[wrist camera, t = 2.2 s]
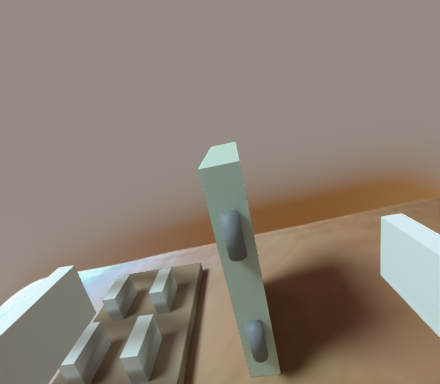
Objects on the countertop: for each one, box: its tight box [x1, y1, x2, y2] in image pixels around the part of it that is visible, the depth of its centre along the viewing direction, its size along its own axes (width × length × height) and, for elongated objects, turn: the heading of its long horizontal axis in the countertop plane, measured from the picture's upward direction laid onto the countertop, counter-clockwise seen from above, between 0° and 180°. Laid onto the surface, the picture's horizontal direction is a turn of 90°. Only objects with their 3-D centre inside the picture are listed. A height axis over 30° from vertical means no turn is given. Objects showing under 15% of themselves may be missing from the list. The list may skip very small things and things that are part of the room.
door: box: [198, 142, 281, 377], centre depth 21 cm, size 11×4×18 cm, turn 178°
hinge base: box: [52, 263, 203, 384], centre depth 24 cm, size 20×12×4 cm, turn 178°
